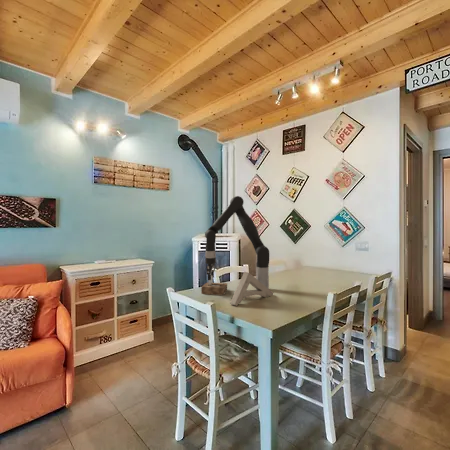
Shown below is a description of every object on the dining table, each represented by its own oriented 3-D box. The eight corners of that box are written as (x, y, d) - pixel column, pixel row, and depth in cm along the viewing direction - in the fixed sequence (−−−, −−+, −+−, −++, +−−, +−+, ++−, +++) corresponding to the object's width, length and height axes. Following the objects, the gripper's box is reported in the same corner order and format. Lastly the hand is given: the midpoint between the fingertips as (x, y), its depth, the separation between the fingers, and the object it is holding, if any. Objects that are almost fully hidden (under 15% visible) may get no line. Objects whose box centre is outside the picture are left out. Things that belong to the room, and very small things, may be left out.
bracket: (208, 289, 201) (208, 275, 201) (209, 288, 205) (209, 274, 205) (219, 290, 200) (219, 276, 199) (220, 288, 203) (220, 275, 203)
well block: (227, 289, 208) (227, 283, 207) (223, 294, 194) (223, 287, 194) (206, 288, 211) (206, 282, 211) (201, 293, 197) (201, 286, 197)
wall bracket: (261, 323, 184) (234, 304, 168) (256, 321, 188) (229, 303, 171) (273, 292, 192) (249, 272, 176) (268, 291, 196) (244, 271, 179)
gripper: (213, 258, 195) (213, 281, 195) (217, 255, 209) (218, 276, 209) (202, 258, 196) (203, 280, 197) (208, 255, 210) (208, 276, 211)
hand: (210, 278), depth 203 cm, fingers open, 8 cm apart
